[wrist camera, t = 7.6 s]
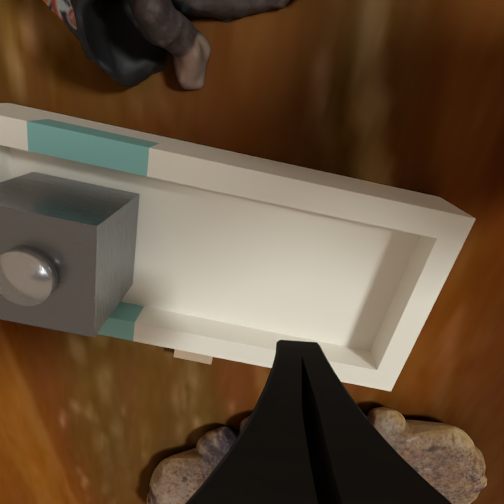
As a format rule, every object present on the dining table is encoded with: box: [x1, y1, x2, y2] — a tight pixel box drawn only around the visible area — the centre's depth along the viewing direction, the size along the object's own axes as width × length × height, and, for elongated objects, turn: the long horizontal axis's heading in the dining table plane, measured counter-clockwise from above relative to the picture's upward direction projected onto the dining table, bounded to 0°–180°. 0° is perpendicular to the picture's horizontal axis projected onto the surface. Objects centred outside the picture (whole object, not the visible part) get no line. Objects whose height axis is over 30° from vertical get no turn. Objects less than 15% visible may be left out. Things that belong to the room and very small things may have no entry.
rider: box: [0, 172, 140, 337], centre depth 15 cm, size 5×5×5 cm
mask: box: [147, 407, 487, 504], centre depth 26 cm, size 15×3×25 cm
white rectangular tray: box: [0, 103, 476, 391], centre depth 19 cm, size 22×13×4 cm, turn 78°
